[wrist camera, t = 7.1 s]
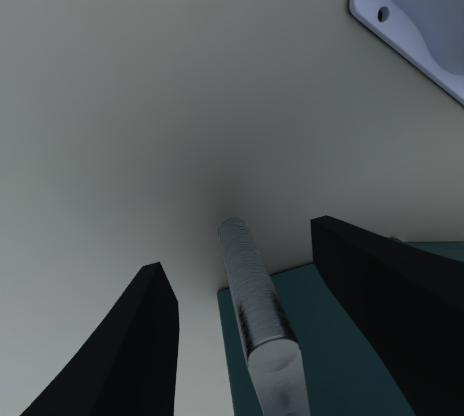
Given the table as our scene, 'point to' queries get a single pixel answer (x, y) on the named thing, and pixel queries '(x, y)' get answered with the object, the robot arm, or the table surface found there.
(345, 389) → the teal cabinet door
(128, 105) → the table surface
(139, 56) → the table surface
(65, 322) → the table surface
